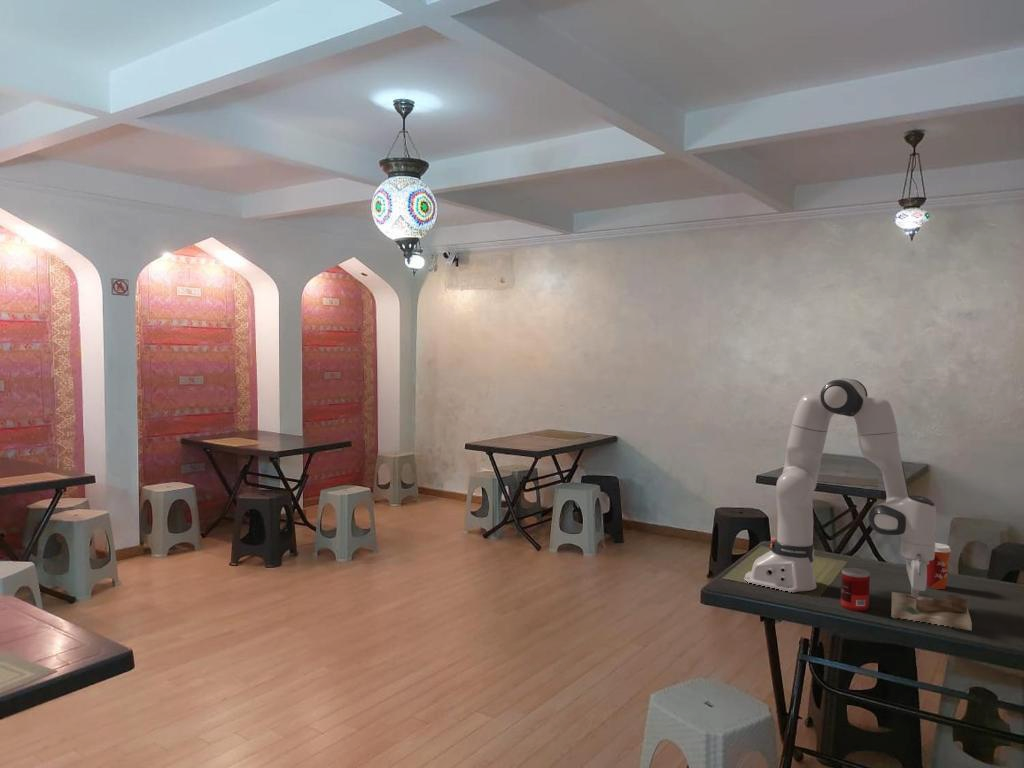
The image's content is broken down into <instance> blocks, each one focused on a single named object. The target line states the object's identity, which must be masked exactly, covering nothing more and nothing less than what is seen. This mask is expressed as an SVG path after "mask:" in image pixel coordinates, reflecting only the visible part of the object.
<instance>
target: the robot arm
mask: <svg viewBox="0 0 1024 768" xmlns="http://www.w3.org/2000/svg"><path fill="white" fill-rule="evenodd" d="M834 415H840V416H846V417H852V418H853V419H854V420H855V423H856V429H857V432H856V433H857V439H858V445H859V449H860V450H861V454H862V456H863V457H864V458H865V459H866V460H868V461H869V462H870V463H873V464H874V465H875V466H876V467H877V468H879V469H878V470H880V472H881V474H882V479H883V485H884V490H885V494H886V499H885V501H883V502H881V503H879V504H876V505H874V506H872V508H871V509H870V510H869V512H868V515H867V518H868V519H867V520H868V524H869V525H870V527H871V529H872V530H874V532H876V533H877V534H880V535H885V536H900V537H901V542H900V544H901V545H900V555H901V556H902V557H903V558H904V561H905V567H906V572H907V577H908V580H909V582H910V587H911V592H910V593H911V594H910V595H912V597H913V598H919V596H920V592H926V589H927V585H926V582H927V566H926V565H928V564H929V561H931V560H934V556H935V543H936V539H935V533H936V530H937V509H936V505H935V503H934V502H933V501H932V500H930V498H927V497H924V496H921V495H915V494H910V492H909V487H908V481H907V478H906V473H905V472H906V471H905V468H904V463H903V460H902V456H901V451H900V449H901V448H900V442H899V441H900V440H899V435H898V427H897V423H896V419H895V418H896V417H895V415H894V411H893V408H892V405H891V404H890V402H889V401H888V400H886V399H884V398H881V397H868V390H867V388H866V387H865V385H864V384H863V383H862V382H860V381H859V380H857V379H853V378H845V377H844V378H839V379H834V380H831V381H829V382H827V383H826V384H825V385H824V386H823V387H822V389H821V391H820V394H818V393H806V394H804V395H803V396H801V397H800V399H799V401H798V403H797V406H796V408H795V411H794V414H793V417H792V421H791V424H790V430H789V434H788V439H787V444H786V449H785V450H786V451H785V458H784V459H785V460H784V464H783V469H782V473H781V475H779V477H778V479H777V480H776V485H775V486H776V490H775V491H776V497H775V498H776V511H777V525H776V526H777V528H776V530H777V532H776V537H772V538H771V540H770V547H769V549H770V550H769V551H767V552H765V553H764V554H763V555H762V554H761V555H760V556H759V557H757V558H756V559H755V560H754V563H753V564H752V568H751V570H749V571H748V572H746V573H745V574H744V581H745V580H746V581H747V582H748V583H747V582H746V583H747V584H749V583H752V584H751V585H753V584H756V585H755V586H758V585H761V586H760V587H762V586H765V587H764V588H767V587H770V588H769V589H772V588H775V589H774V590H776V589H779V590H778V591H781V590H782V591H781V592H785V591H788V592H787V593H791V592H792V593H797V592H809V591H814V590H816V589H817V587H818V586H817V583H816V579H815V573H814V571H815V570H814V564H813V563H814V560H815V544H814V543H813V542H814V540H813V539H814V510H813V509H814V508H813V506H814V505H813V502H814V500H813V498H814V491H815V490H816V488H817V483H818V478H819V474H820V468H821V463H822V458H823V452H824V447H825V443H826V440H827V439H826V438H827V433H828V430H829V425H830V422H831V419H832V417H833V416H834Z"/></svg>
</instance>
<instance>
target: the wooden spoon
mask: <svg viewBox="0 0 1024 768" xmlns="http://www.w3.org/2000/svg"><path fill="white" fill-rule="evenodd" d="M932 598H933V599H917V600H916V609H917V610H919V611H955V612H967V608H968V597H966V596H963V595H957V594H948V595H947V598H946V597H943V598H940V597H939V598H936V597H932Z"/></svg>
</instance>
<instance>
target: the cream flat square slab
mask: <svg viewBox="0 0 1024 768" xmlns="http://www.w3.org/2000/svg"><path fill="white" fill-rule="evenodd" d="M933 598H934V597H931V596H930V597H929V596H924V595H923V596H922V595H919V598H913V597H912V594H910V593H909V594H908V593H901V592H896V591H891V614H890V617H892V618H893V619H897V618H900V619H899V620H903V619H908V620H907V621H909V620H913V621H912V622H915V621H920V622H919V623H921V622H926V623H925V624H928V623H931V624H930V625H934V624H937V625H936V626H940V625H944V626H943V627H946V626H949V627H948V628H952V627H954V629H959V630H966V631H973V629H972V628H973V627H972V626H973V623H972V618H971V616H970V612H969V609H968V608H969V607H967V612H955V611H919V610H917V609H916V600H917V599H933Z"/></svg>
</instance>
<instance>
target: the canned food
mask: <svg viewBox="0 0 1024 768" xmlns="http://www.w3.org/2000/svg"><path fill="white" fill-rule="evenodd" d="M870 574H871V573H870V572H869V571H868V570H866V569H863V568H858V567H844V568H842V569H841V579H840V580H841V581H840V582H841V586H840V606H841V608H844V609H846V610H849V611H853V612H864V611H865V612H866V611H867V610H868V608H869V604H870V585H871V584H870V583H871V581H870V580H871V579H870V578H871V575H870Z"/></svg>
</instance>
